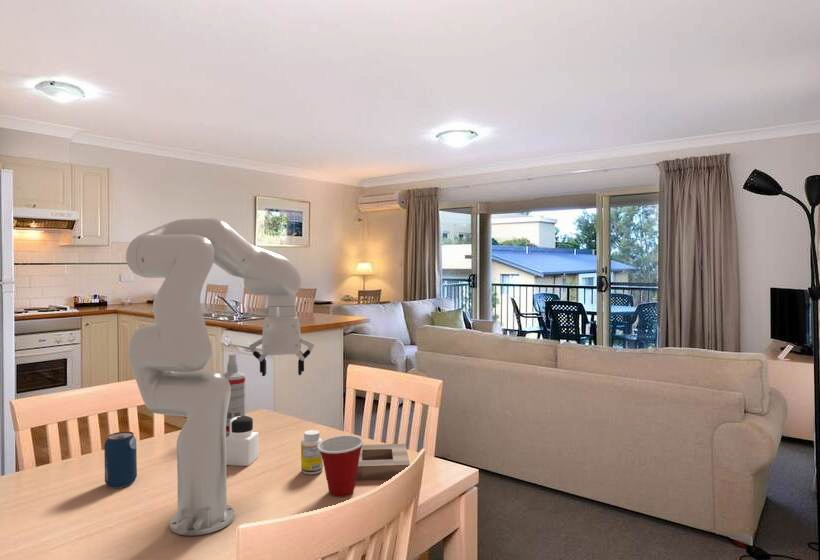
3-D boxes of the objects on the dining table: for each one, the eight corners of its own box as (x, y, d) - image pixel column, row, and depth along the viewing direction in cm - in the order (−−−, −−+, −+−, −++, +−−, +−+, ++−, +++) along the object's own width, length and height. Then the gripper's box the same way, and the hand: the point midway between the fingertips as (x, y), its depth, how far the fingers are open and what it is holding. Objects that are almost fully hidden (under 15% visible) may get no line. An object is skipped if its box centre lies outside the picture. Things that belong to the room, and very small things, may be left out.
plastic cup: (313, 486, 129) (313, 437, 129) (356, 480, 133) (356, 432, 133) (322, 505, 119) (322, 451, 119) (369, 497, 123) (368, 446, 122)
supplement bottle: (308, 466, 142) (308, 428, 142) (326, 468, 140) (326, 430, 140) (297, 473, 137) (296, 434, 137) (316, 476, 135) (315, 436, 135)
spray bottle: (242, 434, 170) (242, 355, 169) (218, 435, 169) (217, 356, 168) (247, 426, 178) (246, 351, 177) (223, 427, 177) (223, 352, 176)
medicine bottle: (259, 457, 149) (258, 414, 149) (248, 466, 142) (248, 421, 142) (234, 456, 150) (234, 413, 150) (223, 465, 143) (222, 421, 143)
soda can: (143, 479, 133) (142, 432, 133) (121, 490, 127) (120, 440, 126) (120, 476, 135) (120, 429, 135) (98, 487, 129) (97, 438, 128)
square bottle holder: (410, 478, 134) (409, 464, 134) (345, 480, 133) (345, 466, 133) (405, 455, 150) (405, 443, 150) (348, 457, 149) (347, 445, 148)
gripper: (246, 314, 141) (247, 378, 141) (313, 313, 143) (313, 376, 143) (251, 311, 148) (252, 372, 149) (314, 310, 150) (315, 371, 151)
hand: (282, 374), depth 146 cm, fingers open, 9 cm apart
